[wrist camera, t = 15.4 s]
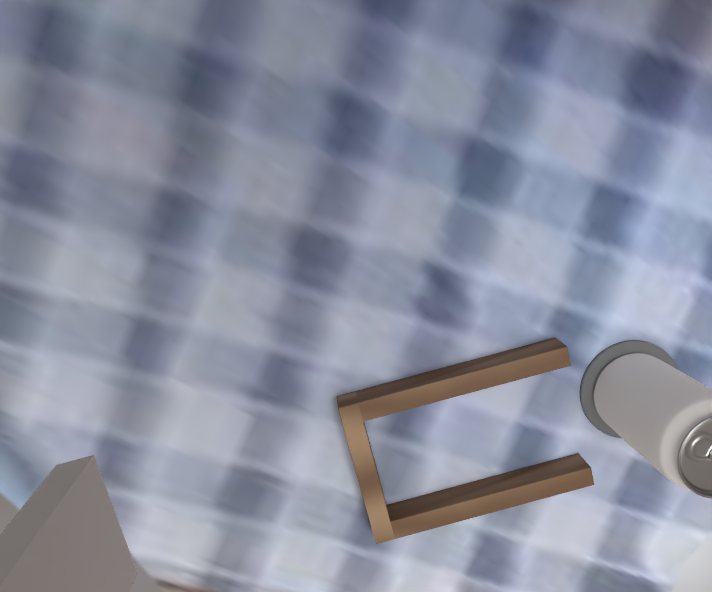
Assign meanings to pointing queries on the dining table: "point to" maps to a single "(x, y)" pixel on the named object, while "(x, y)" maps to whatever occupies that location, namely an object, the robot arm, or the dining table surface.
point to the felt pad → (599, 365)
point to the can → (660, 417)
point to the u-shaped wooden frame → (469, 496)
